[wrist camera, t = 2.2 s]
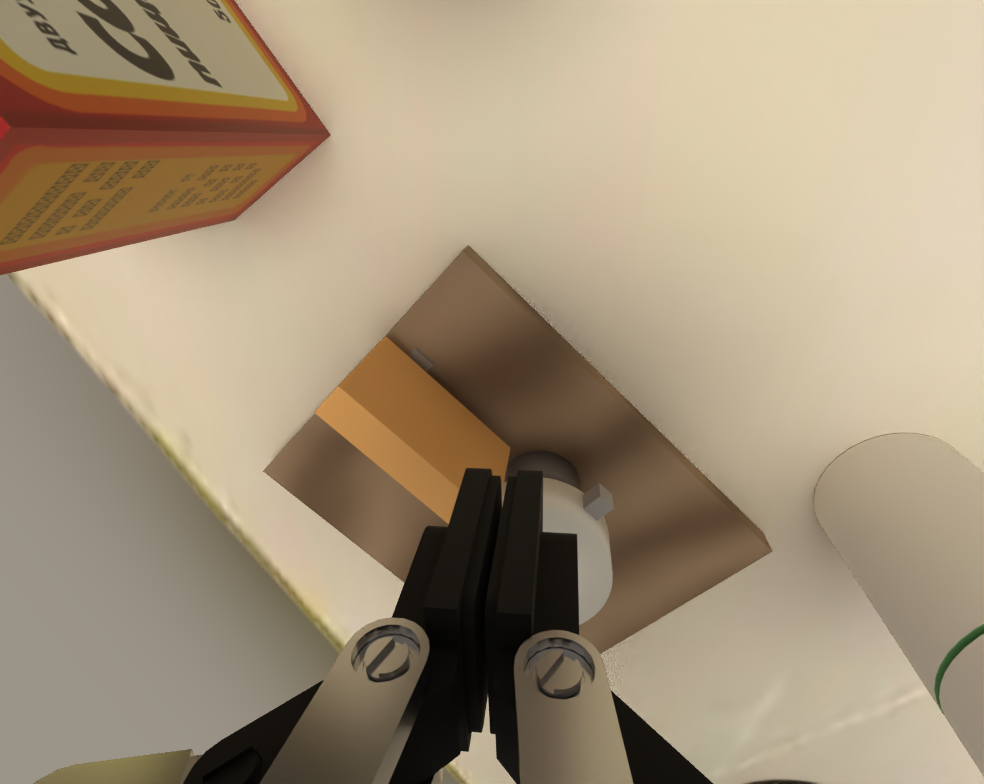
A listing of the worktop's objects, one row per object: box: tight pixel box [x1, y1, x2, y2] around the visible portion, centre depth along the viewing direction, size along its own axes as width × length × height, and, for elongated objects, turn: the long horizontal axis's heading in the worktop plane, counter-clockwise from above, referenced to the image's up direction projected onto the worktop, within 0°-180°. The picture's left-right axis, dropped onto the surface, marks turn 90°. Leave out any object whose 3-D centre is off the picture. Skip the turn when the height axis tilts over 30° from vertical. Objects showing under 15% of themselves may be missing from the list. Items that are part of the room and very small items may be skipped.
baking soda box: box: [0, 0, 330, 275], centre depth 17 cm, size 10×6×16 cm
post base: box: [263, 245, 772, 654], centre depth 29 cm, size 22×17×6 cm
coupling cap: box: [314, 336, 614, 625], centre depth 25 cm, size 14×8×6 cm, turn 46°
